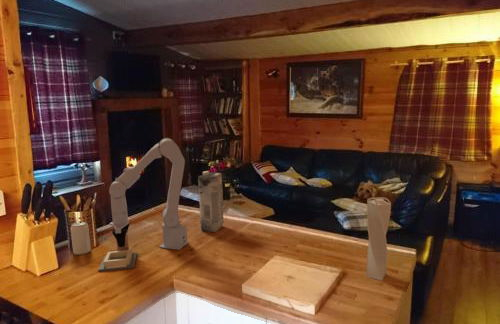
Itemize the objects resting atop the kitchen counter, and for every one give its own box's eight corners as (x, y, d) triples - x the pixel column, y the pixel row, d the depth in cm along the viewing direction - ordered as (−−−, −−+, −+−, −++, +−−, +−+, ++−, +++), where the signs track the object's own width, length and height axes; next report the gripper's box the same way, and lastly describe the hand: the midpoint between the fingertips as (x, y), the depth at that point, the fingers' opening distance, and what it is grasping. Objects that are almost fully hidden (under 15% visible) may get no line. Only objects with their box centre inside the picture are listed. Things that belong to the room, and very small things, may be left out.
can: (84, 255, 144) (80, 226, 142) (69, 254, 146) (66, 225, 143) (94, 249, 150) (91, 221, 148) (80, 248, 152) (77, 220, 150)
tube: (131, 248, 149) (129, 229, 147) (124, 252, 144) (122, 233, 143) (122, 247, 150) (120, 228, 149) (114, 251, 146) (112, 232, 144)
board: (137, 254, 144) (136, 247, 144) (133, 268, 133) (132, 260, 132) (105, 257, 142) (104, 250, 142) (98, 271, 131) (97, 264, 130)
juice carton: (225, 225, 174) (223, 169, 169) (216, 233, 164) (213, 174, 159) (208, 223, 177) (206, 168, 172) (198, 231, 167) (195, 173, 162)
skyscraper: (384, 283, 117) (388, 199, 112) (361, 278, 121) (364, 196, 116) (390, 273, 124) (393, 193, 119) (367, 268, 128) (370, 190, 123)
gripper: (112, 207, 151) (115, 238, 153) (105, 218, 137) (108, 252, 139) (130, 205, 152) (132, 236, 154) (125, 216, 138) (128, 250, 140)
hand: (122, 244), depth 147 cm, fingers closed on tube, 4 cm apart
